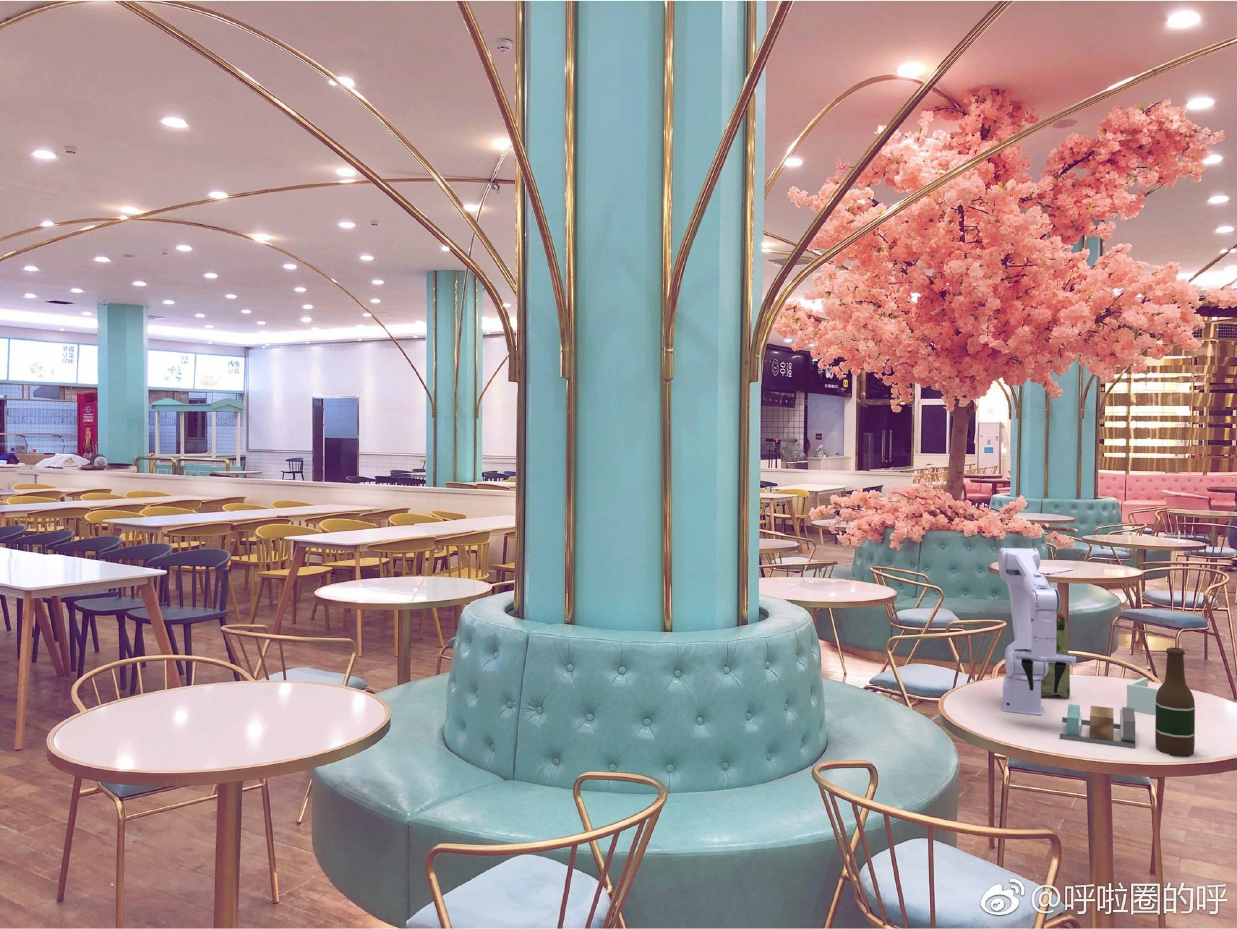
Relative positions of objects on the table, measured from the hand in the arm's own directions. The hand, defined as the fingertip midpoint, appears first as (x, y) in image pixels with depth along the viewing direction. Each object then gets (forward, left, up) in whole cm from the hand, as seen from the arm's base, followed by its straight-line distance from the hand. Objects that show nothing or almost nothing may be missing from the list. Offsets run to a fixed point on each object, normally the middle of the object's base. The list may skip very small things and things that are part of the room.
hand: (1043, 690), depth 232 cm
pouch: (-1, +35, -10) cm, 36 cm away
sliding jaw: (+7, 0, -9) cm, 11 cm away
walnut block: (+13, 0, -10) cm, 16 cm away
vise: (+11, 0, -9) cm, 14 cm away
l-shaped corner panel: (+27, +32, -10) cm, 43 cm away
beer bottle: (+28, -6, -10) cm, 30 cm away
